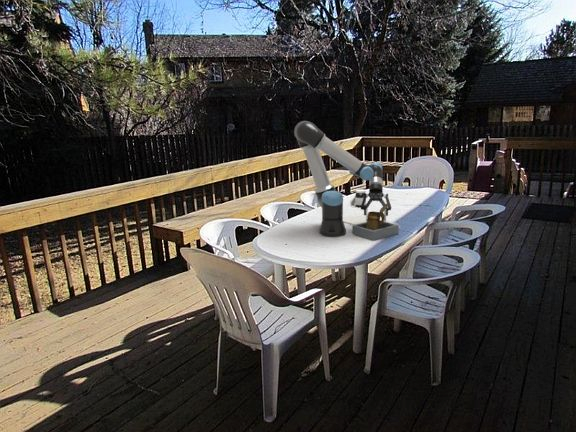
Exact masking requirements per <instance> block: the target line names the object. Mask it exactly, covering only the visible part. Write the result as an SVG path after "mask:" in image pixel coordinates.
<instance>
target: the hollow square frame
mask: <svg viewBox="0 0 576 432" xmlns="http://www.w3.org/2000/svg"><path fill="white" fill-rule="evenodd" d="M381 220H382V219H380V221H381ZM366 225H367V222H365V223H361V224H357V225H352V230H351V231H352V233H351V234H352V235H354V236H358V237H360V238H364V239H366V240H370V241H377V240H381V239H384V238H387V237H392V236H395V235H398V234H399V224H396V223H391V222H388V221H386V222H383V223H382V225H381V229H378V230H374V231H373V230H370V229H366Z"/></svg>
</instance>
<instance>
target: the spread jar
mask: <svg viewBox="0 0 576 432" xmlns="http://www.w3.org/2000/svg"><path fill="white" fill-rule="evenodd" d="M364 193H366V189H356V190H355V195H353V196H352V197H351V199H350V202H349V204H350V205H351V206H353V205H354V206H355V207H357V208H361V205H362V201H363V198H364ZM366 204H367V200H366V201H365V204H364V207H365V205H366Z"/></svg>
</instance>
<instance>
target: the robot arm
mask: <svg viewBox="0 0 576 432" xmlns="http://www.w3.org/2000/svg"><path fill="white" fill-rule="evenodd" d="M293 134H294V137H295V138H296V141H297V143H298V146H299V148H300V149H302V150H303V152H304V155H305V158H306V161H307V164H308V167H309V170H310V174H311V175H312V176H311V177H312V179H313V182H314V184H315V188H316V189H315V191H314V192H315V195H316V200H317V203H318V206H320V207H321V211H322V213H321V217H322V218H321V222H320V225H319V226H320V227H319V230H318V231H319V235H321V236H322V237H323V236H324V237H330V238H331V237H341V236H344V235H346V234H347V233H346V232H347V228H346V226H345V222H343V217H344V214H343V213H344V207H343V205H344V195H343V194H342V193H341V192H340V191H337V190H336V188H335V185H334V184H333V183H331V181H330V178H329V175H328V172H327V169H326V166H325V164H324V161H323V158H322V154H321V152H323V153H324V154H326V155H327V156H328V157H330V158H331V159H333V160H334V161H336V162H337V163H339V164H340V165H341V166H343V167H345V168H346V169H347V170H348V173H349V174H350V175H353V176H357V177H359V178H360V179H361V180H362V181H363V180H364V181H369V188H368V189H369V191H368V193H366V192H365V193H364V198H363V201H362V205H361V207H360V210H361V211H363V215H364V216H365V217H366V221H367V216H368V208H369V207H370V205H371V204H372V203H373V202H375V201H376V202H379V203H380V204H381V206H382V207H383V206H384V205H385V204H387V203H388V204H389V205H388V207H387V208H386V210H385V211H384V212H383V213H384V216H385V219H384V222H387V217H388V216H389V211H391V210H392V205H391V201H390V198H389V193H383V186H384V185H383V173H384V172H383V165H382V164H381V163H380V162H375V161H374V162H372V163H370V164H366V163H364V162H362V161H361V160H360V159H359V158H357V157H355V156H354V155H353V154H351V152H348V151H347V150H346V149H344V148H343V147H341V146H340V145H338V144H337V143H336V142H334V141H333V140H331V139H330V138H329V137H327V136H326V133H324V132H323V131H322V130H321V129H320V128H318V126H316V124H315V123H313V122H311V121H308V120H303V121H302V120H301V121H300V122H298V123H297V124H296V125H295V127H294V130H293ZM320 151H321V152H320ZM368 197H369V199H368V201H367V198H368ZM383 198H384V199H385V201H386V202H385V201H384V199H383ZM365 201H366V205H365V207H364V204H365Z"/></svg>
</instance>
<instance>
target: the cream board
mask: <svg viewBox="0 0 576 432" xmlns="http://www.w3.org/2000/svg"><path fill="white" fill-rule="evenodd" d="M343 222H344V224H345V223H346V224H349V225H352V226H353V225H357V224H361V223H365V222H367V221H366V216H365V215H364V216H363V215H360V214H352V215H351V214H350V215H346V216H343Z"/></svg>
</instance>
